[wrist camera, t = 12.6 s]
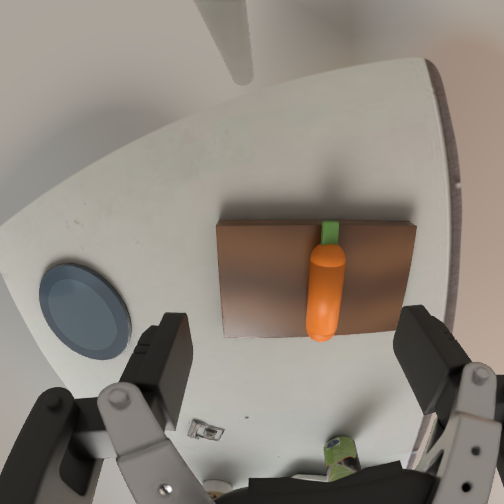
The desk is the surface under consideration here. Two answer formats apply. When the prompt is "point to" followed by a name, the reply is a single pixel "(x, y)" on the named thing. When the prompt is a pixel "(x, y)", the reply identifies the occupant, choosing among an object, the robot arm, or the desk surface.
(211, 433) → the metal mounting bracket
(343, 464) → the beverage can
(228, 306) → the cutting board
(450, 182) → the desk surface
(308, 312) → the carrot
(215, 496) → the coffee cup
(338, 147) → the desk surface
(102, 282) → the slate plate
